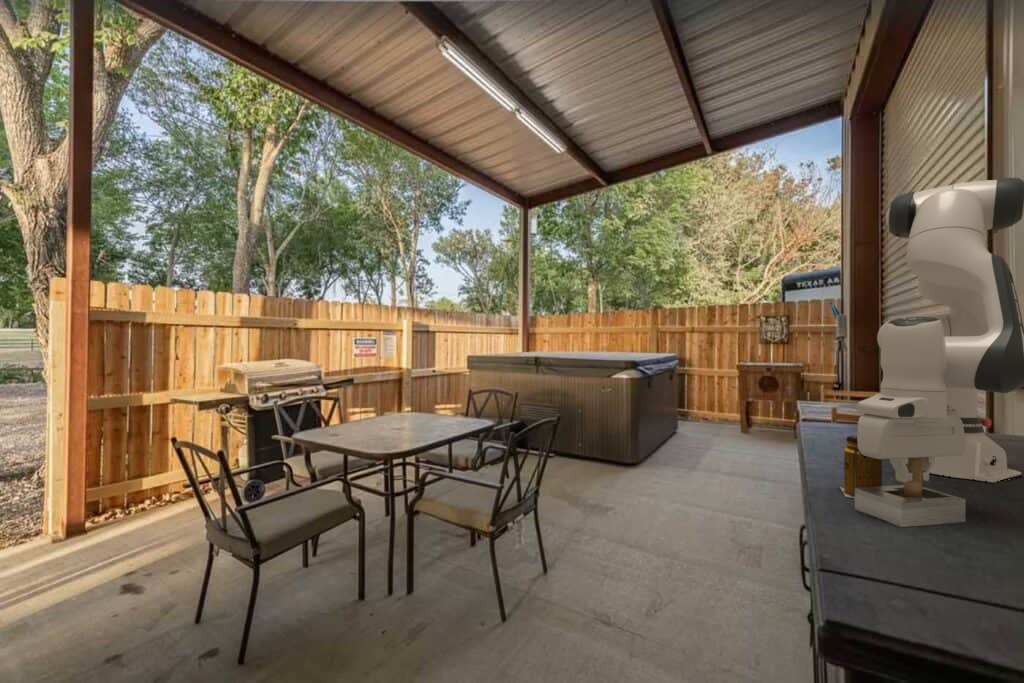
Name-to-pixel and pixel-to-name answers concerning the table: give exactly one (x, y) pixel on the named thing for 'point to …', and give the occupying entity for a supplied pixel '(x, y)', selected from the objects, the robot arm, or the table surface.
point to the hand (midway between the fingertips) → (912, 481)
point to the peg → (914, 478)
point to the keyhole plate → (910, 514)
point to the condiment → (859, 469)
